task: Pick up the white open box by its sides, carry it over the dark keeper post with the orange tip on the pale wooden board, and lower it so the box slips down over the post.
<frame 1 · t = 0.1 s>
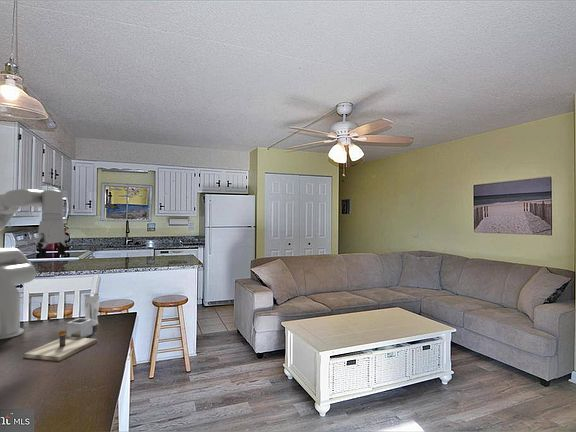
hand: (52, 256, 149), 37 cm above the table, tool pointing down, fingers open, 9 cm apart
white open box: (79, 336, 152), on the table
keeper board: (62, 349, 136), on the table
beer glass: (91, 325, 168), on the table
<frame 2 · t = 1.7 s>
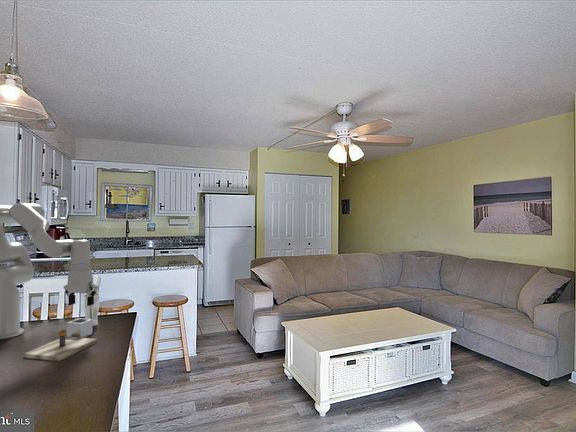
hand: (81, 304, 152), 14 cm above the table, tool pointing down, fingers open, 9 cm apart
nothing on the table moved.
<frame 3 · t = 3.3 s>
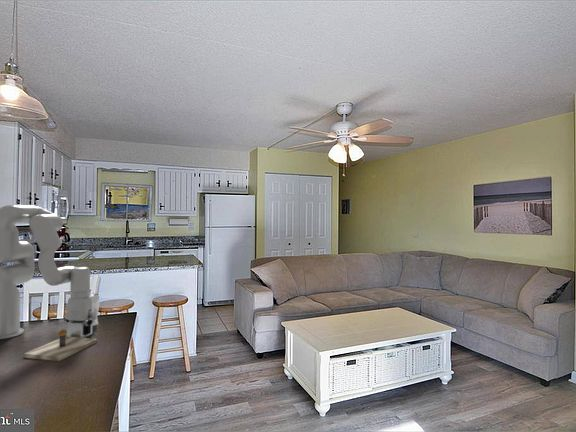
hand: (79, 333, 152), 1 cm above the table, tool pointing down, fingers closed on white open box, 7 cm apart
white open box: (79, 336, 152), on the table, touching gripper
everything else where it was.
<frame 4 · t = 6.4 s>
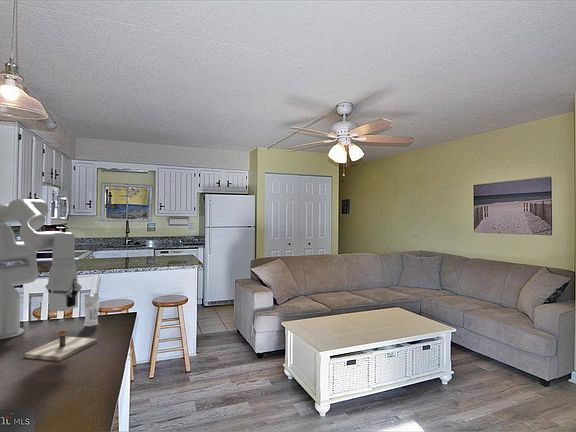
hand: (63, 305, 137), 18 cm above the table, tool pointing down, fingers closed on white open box, 7 cm apart
white open box: (63, 308, 137), point 17 cm above the table, touching gripper
everything else where it was.
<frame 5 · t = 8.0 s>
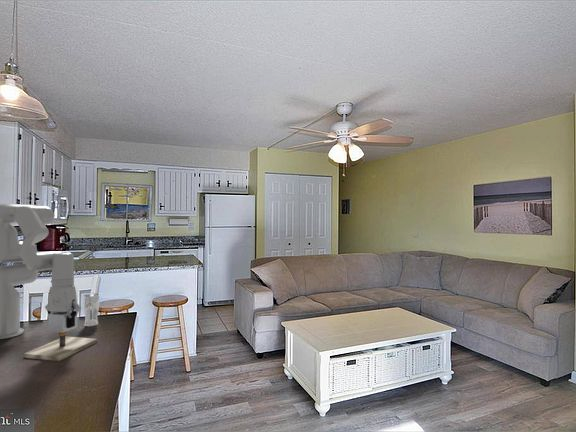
hand: (62, 326, 136), 10 cm above the table, tool pointing down, fingers closed on white open box, 7 cm apart
white open box: (63, 329, 136), point 8 cm above the table, touching gripper
everything else where it was.
when the fingers open (5 cm above the table, at t = 9.4 s): white open box drops 2 cm, resting on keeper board.
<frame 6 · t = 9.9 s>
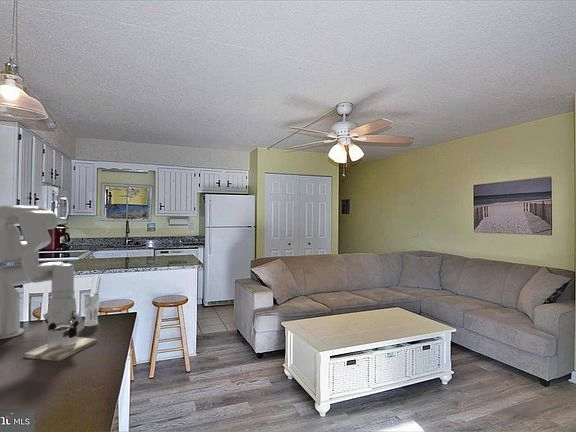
hand: (62, 336, 136), 6 cm above the table, tool pointing down, fingers open, 9 cm apart
white open box: (62, 345, 136), point 1 cm above the table, touching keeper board
everything else where it was.
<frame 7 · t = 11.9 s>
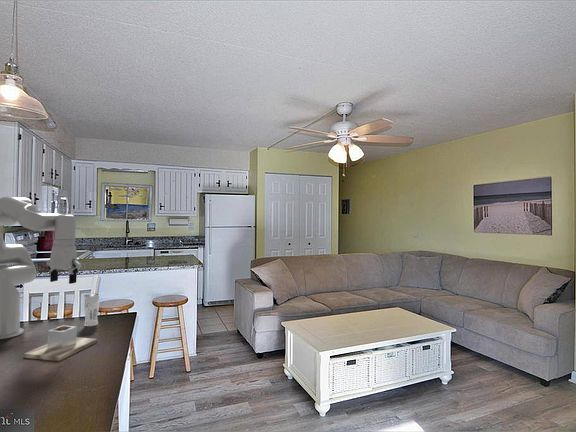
hand: (63, 282, 145), 26 cm above the table, tool pointing down, fingers open, 9 cm apart
nothing on the table moved.
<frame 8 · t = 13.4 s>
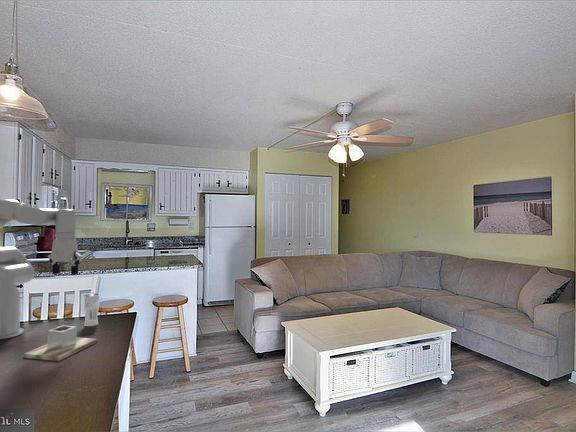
hand: (65, 274, 151), 28 cm above the table, tool pointing down, fingers open, 9 cm apart
nothing on the table moved.
at the end: white open box 0.1 cm off-centre on the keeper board, point 1.5 cm above the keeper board's base; white open box tilted 0°; the gripper is holding nothing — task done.
